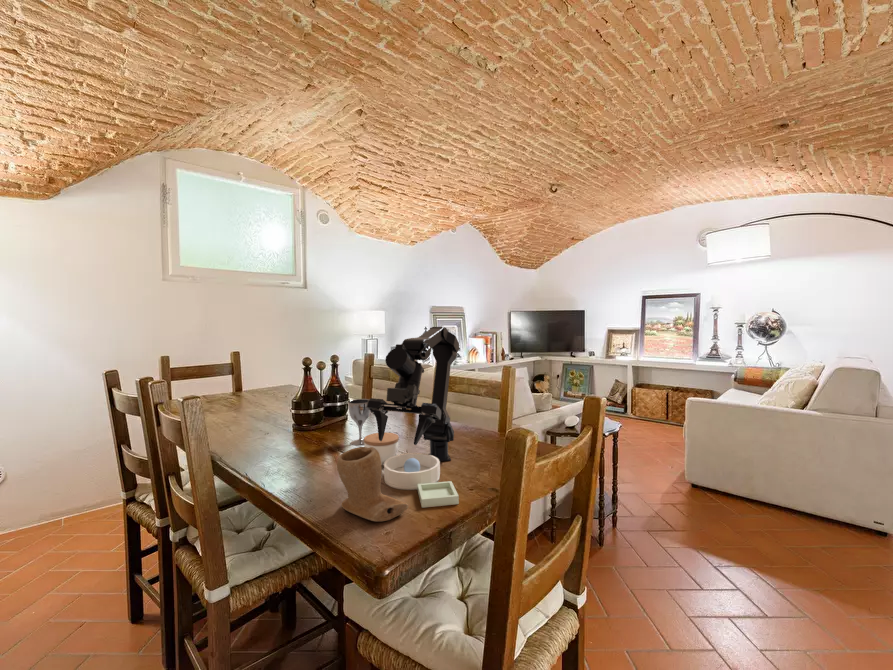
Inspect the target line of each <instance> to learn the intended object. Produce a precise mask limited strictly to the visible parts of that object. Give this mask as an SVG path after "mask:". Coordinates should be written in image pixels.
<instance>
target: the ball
mask: <svg viewBox="0 0 893 670" xmlns="http://www.w3.org/2000/svg"><path fill="white" fill-rule="evenodd" d="M404 470H405V472H419V470H420V463H419V461H418V460H417V459H415V458H410V459H408V460H406V462H405V463H404Z"/></svg>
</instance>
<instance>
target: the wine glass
mask: <svg viewBox="0 0 893 670" xmlns="http://www.w3.org/2000/svg"><path fill="white" fill-rule="evenodd" d="M369 399H370V398H355V399H351V400H348V401H347V405H348V406H347V408H348V413H349V417H350V418H351V420H352V421H353V422H354V423H355V424H356V425H357V429H358V434H359V435H358V439H354V440H352V441H350V442H349V443H350V445H351V446H356V447H357V446H359V447H361V446H364V438H362V429H363V426H364V424H365V423H366V421H367V420H368V418H369V417H370V414H371V412H370V410H368V409H367V408H366V405H367V402H368V401H369Z"/></svg>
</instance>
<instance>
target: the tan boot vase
mask: <svg viewBox="0 0 893 670" xmlns="http://www.w3.org/2000/svg"><path fill="white" fill-rule="evenodd" d="M382 466H383V465H381V458H380V455H379V452H378V451H377V450H376V449H375V448H374V447H370V448H367V447H365V446H359V447H355V448H352V449H349V450H346V451H344V452H342V453H340V455H338V457H337V459H336V469H337V473H338V476H339V478H340V480H341V482H342V485H343V486H344V488H345V490H346V492H347V498H345V499H344V500H343V501H342V502H341V508H343V509H344V510H345V511H346V512H348V513H351V514H353V515H356V516H357V517H360V518H363V519H365V520H367V521H371V522H387V521H391V520H393V519H395V518H396V517H398V516H399V515H401V514H403V513H404V512H405V511H406V510H407V509H408V508H409V504H408V503H407V502H404V501H402V500H399V499H397V498H394V497H392V496H389V495H386V494H383V493H382V491H381V485H382V484H381V483H382V475H383V474H382V473H383V470H382V469H383V468H382Z"/></svg>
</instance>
